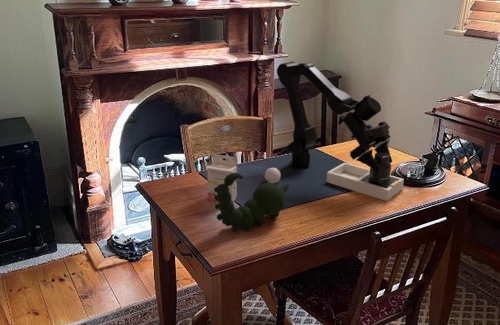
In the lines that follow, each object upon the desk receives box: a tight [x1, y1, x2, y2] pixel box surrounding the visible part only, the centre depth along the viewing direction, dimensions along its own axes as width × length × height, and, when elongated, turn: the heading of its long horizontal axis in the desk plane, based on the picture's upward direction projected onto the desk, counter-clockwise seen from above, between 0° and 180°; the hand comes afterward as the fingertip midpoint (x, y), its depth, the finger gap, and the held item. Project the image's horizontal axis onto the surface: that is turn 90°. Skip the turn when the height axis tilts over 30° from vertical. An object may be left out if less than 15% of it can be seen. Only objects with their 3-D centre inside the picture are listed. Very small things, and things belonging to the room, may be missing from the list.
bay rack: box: [326, 162, 405, 202], centre depth 173 cm, size 23×12×4 cm, turn 50°
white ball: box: [264, 167, 282, 184], centre depth 174 cm, size 8×6×6 cm
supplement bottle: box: [368, 152, 392, 189], centre depth 168 cm, size 7×7×12 cm
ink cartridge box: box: [207, 153, 238, 203], centre depth 160 cm, size 9×5×15 cm, turn 71°
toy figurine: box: [214, 172, 290, 233], centre depth 145 cm, size 10×19×26 cm
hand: (385, 166), depth 166 cm, fingers open, 9 cm apart
